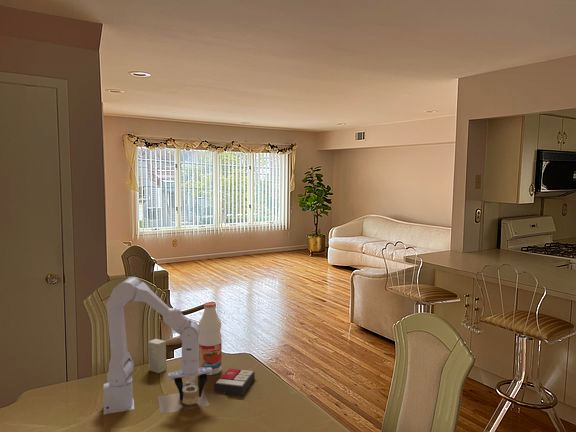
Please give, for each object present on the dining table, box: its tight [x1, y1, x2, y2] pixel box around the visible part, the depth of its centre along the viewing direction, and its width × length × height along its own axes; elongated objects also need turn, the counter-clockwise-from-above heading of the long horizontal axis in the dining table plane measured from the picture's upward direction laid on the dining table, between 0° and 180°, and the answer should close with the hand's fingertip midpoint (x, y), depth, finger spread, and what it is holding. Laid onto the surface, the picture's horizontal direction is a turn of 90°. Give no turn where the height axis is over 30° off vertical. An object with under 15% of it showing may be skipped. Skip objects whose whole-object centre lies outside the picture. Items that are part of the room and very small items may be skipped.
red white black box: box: [214, 368, 256, 397], centre depth 164 cm, size 11×4×15 cm
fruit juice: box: [198, 301, 223, 376], centre depth 176 cm, size 9×9×28 cm
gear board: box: [157, 381, 210, 415], centre depth 150 cm, size 16×13×6 cm
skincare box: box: [147, 338, 168, 374], centre depth 176 cm, size 6×4×12 cm
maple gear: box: [182, 385, 199, 405], centre depth 148 cm, size 6×6×4 cm
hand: (190, 397), depth 148 cm, fingers closed on maple gear, 5 cm apart
